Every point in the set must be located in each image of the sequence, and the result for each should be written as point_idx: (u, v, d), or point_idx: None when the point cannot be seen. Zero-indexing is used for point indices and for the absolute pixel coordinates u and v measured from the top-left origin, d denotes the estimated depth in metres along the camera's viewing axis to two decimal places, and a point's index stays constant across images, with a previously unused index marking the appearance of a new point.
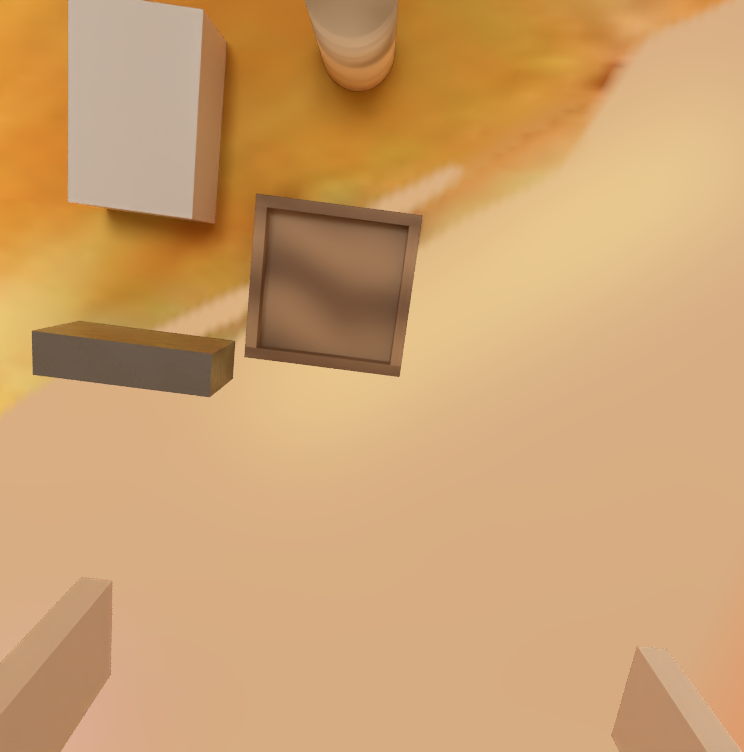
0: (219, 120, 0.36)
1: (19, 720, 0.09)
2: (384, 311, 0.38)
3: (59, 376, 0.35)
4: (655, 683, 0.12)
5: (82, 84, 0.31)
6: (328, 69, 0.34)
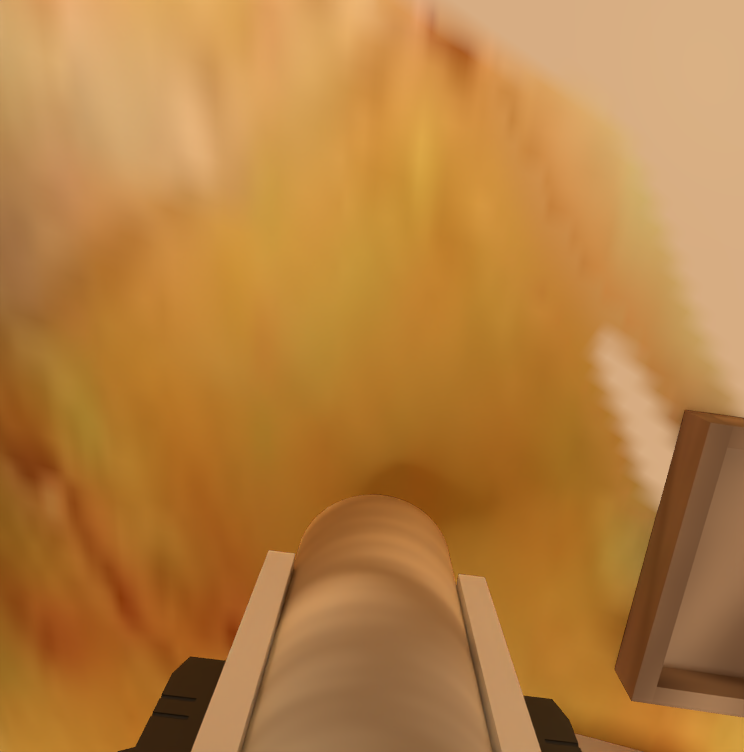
0: None
1: None
2: None
3: None
4: (462, 601, 0.14)
5: None
6: None
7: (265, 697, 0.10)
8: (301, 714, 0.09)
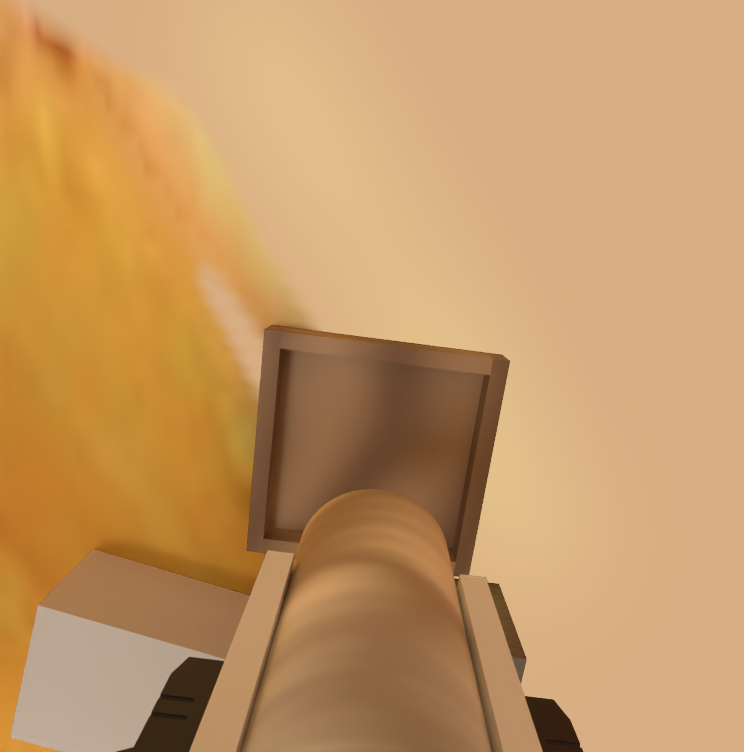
0: (178, 581, 0.28)
1: None
2: (407, 378, 0.26)
3: None
4: (463, 601, 0.14)
5: (111, 750, 0.26)
6: None
7: (269, 680, 0.10)
8: (303, 695, 0.09)
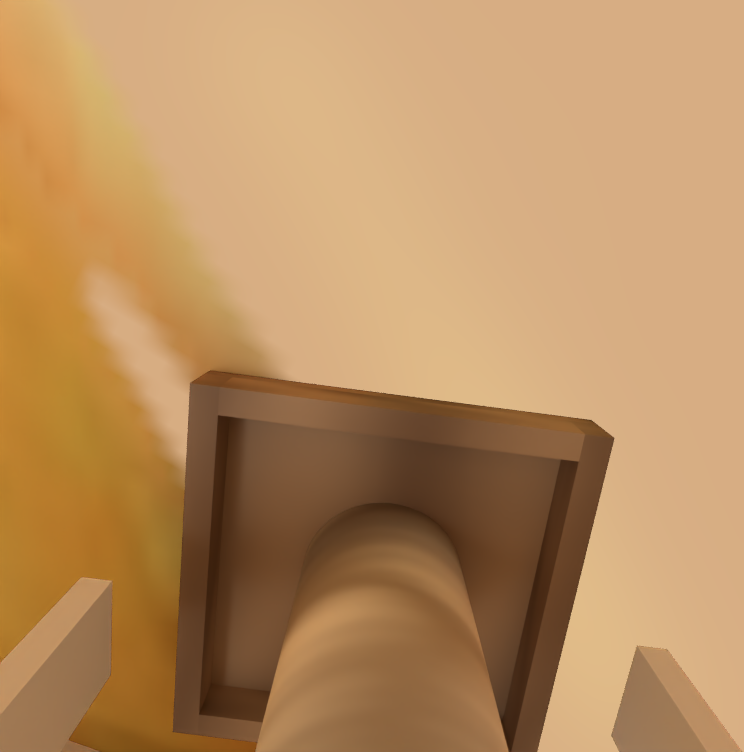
0: None
1: (19, 720, 0.09)
2: (434, 458, 0.15)
3: None
4: (655, 683, 0.12)
5: None
6: None
7: (277, 720, 0.09)
8: (317, 741, 0.08)
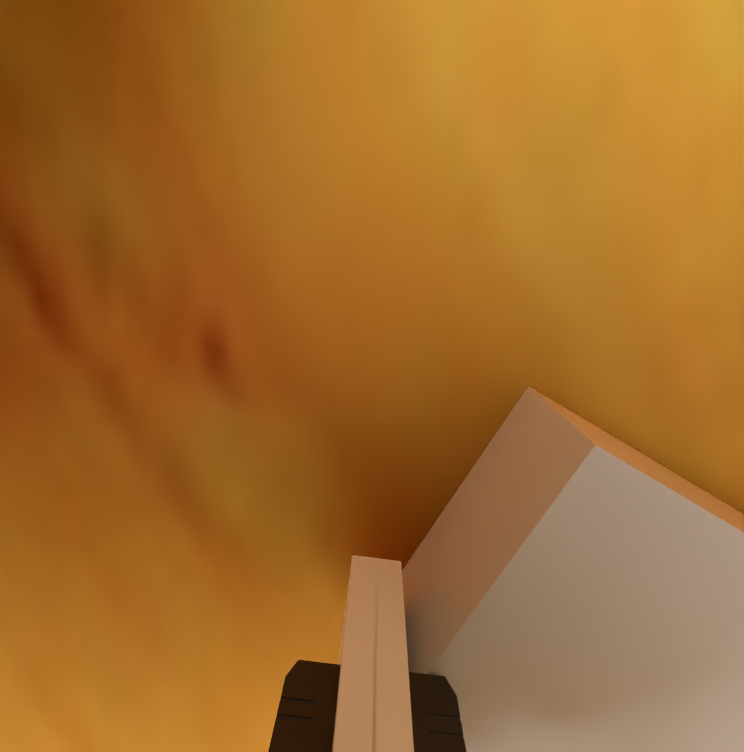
0: (677, 476, 0.15)
1: None
2: None
3: None
4: (374, 583, 0.14)
5: None
6: None
7: None
8: None
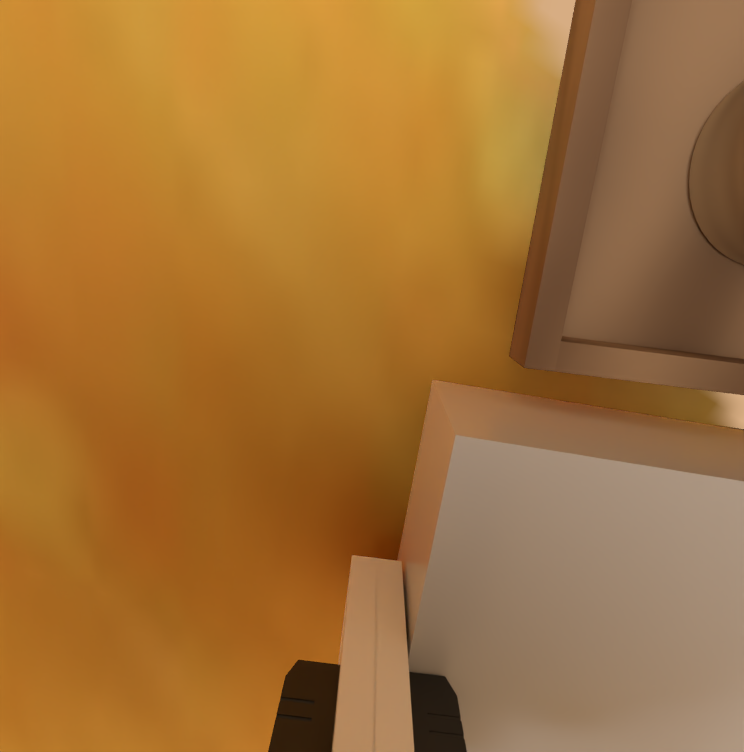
0: (610, 413, 0.15)
1: None
2: None
3: None
4: (374, 583, 0.14)
5: (604, 750, 0.12)
6: None
7: None
8: None
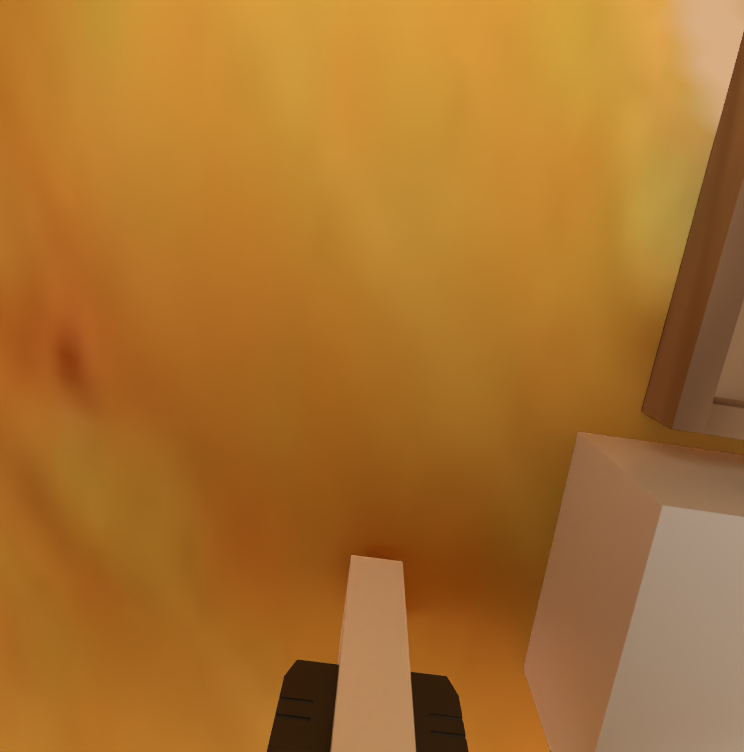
0: None
1: None
2: None
3: None
4: (375, 583, 0.14)
5: None
6: None
7: None
8: None
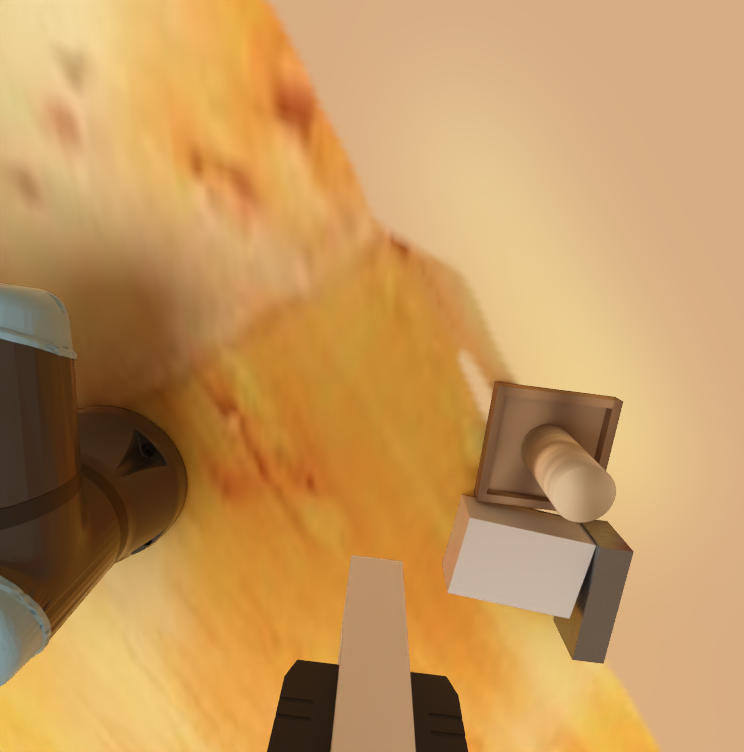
0: (512, 507, 0.51)
1: None
2: (565, 409, 0.49)
3: (606, 647, 0.49)
4: (375, 583, 0.14)
5: (501, 595, 0.49)
6: None
7: (546, 473, 0.43)
8: (559, 468, 0.42)
